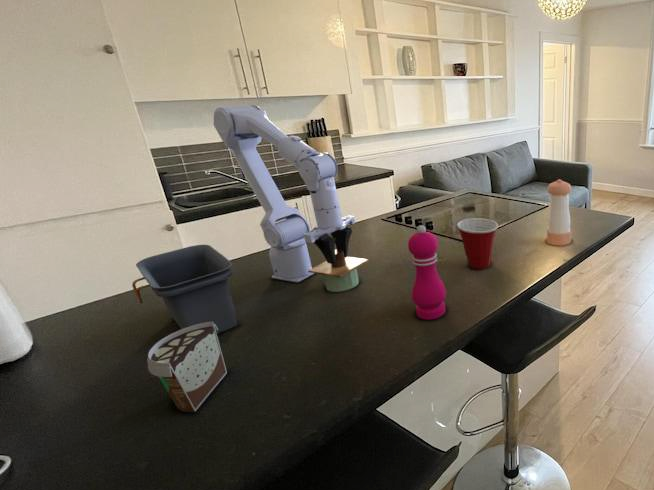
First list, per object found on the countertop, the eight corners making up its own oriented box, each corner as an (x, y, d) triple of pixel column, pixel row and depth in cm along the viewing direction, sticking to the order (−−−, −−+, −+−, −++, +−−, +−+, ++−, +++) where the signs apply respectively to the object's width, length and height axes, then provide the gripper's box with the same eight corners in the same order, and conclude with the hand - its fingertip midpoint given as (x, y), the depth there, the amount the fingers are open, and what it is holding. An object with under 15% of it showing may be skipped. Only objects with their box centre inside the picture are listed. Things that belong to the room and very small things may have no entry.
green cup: (318, 289, 102) (314, 271, 100) (341, 275, 108) (337, 258, 107) (344, 293, 99) (340, 275, 97) (365, 279, 106) (362, 262, 104)
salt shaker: (574, 239, 126) (576, 178, 119) (564, 247, 120) (566, 183, 113) (553, 235, 130) (553, 176, 123) (542, 243, 124) (542, 181, 117)
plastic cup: (495, 274, 105) (493, 230, 101) (455, 272, 107) (451, 229, 103) (503, 257, 115) (502, 217, 110) (466, 256, 117) (463, 216, 113)
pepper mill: (453, 306, 91) (445, 221, 83) (438, 323, 85) (428, 232, 77) (424, 302, 93) (414, 218, 86) (408, 318, 87) (395, 230, 79)
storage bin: (256, 325, 87) (237, 264, 82) (167, 361, 76) (138, 294, 71) (224, 296, 100) (206, 242, 95) (145, 323, 90) (119, 264, 84)
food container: (196, 370, 73) (177, 322, 70) (231, 367, 74) (214, 319, 70) (146, 422, 62) (121, 369, 58) (189, 418, 62) (166, 365, 59)
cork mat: (308, 272, 99) (304, 257, 98) (337, 256, 108) (334, 242, 106) (340, 277, 96) (337, 262, 94) (368, 261, 104) (365, 246, 103)
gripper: (316, 217, 88) (328, 273, 93) (360, 199, 101) (369, 250, 106) (291, 214, 91) (305, 270, 96) (338, 198, 103) (348, 247, 108)
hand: (337, 259), depth 101 cm, fingers closed on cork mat, 3 cm apart
